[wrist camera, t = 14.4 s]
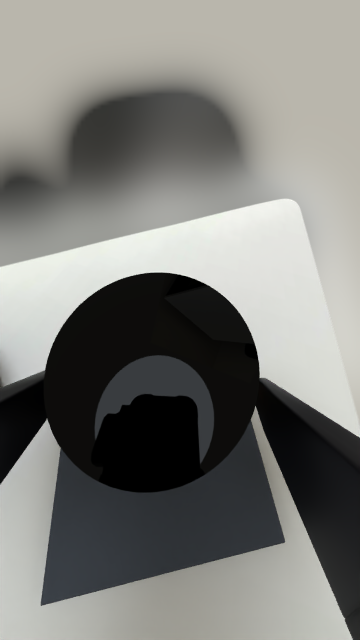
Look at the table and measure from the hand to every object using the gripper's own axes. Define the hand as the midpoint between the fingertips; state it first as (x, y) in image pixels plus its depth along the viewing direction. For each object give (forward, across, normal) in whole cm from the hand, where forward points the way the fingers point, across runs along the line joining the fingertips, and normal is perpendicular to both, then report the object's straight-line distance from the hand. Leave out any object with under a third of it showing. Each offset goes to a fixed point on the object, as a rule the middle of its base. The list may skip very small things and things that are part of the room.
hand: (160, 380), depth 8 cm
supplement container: (+6, 0, +5) cm, 8 cm away
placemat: (+5, +1, +6) cm, 8 cm away
